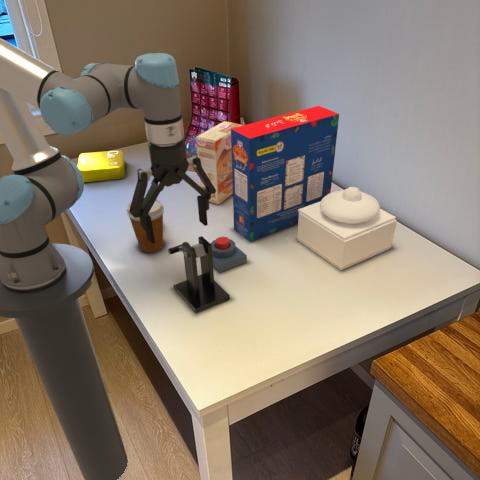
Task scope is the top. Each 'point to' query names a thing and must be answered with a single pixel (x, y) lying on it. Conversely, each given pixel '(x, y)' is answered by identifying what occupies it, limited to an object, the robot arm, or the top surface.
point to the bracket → (200, 280)
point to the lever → (198, 247)
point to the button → (222, 243)
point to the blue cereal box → (281, 169)
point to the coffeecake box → (217, 159)
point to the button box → (227, 257)
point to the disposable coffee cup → (157, 225)
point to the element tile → (102, 165)
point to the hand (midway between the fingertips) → (177, 231)
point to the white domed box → (346, 227)
